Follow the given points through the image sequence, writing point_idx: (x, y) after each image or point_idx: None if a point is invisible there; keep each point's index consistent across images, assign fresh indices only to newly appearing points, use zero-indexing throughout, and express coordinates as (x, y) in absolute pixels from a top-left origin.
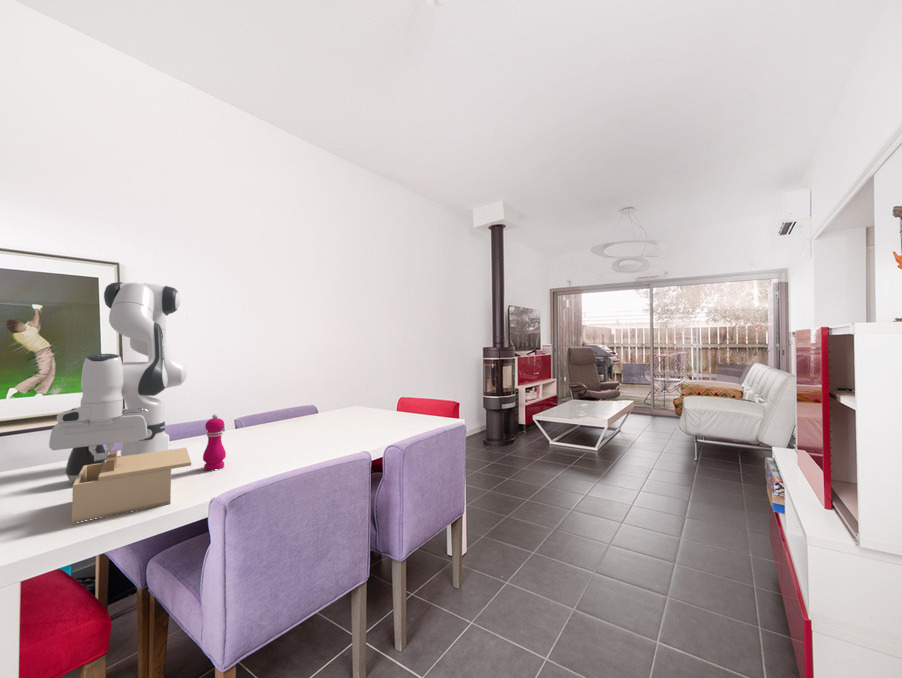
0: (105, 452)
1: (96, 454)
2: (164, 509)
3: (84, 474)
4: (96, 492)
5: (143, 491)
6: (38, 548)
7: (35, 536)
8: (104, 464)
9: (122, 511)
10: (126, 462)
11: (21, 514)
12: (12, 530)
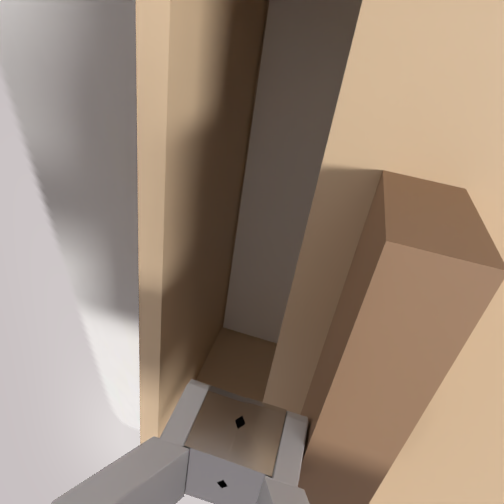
0: (261, 498)
1: (173, 501)
2: None
3: (180, 182)
4: None
5: None
6: None
7: (134, 329)
8: (302, 282)
9: None
10: (482, 382)
11: (20, 3)
12: (59, 218)
